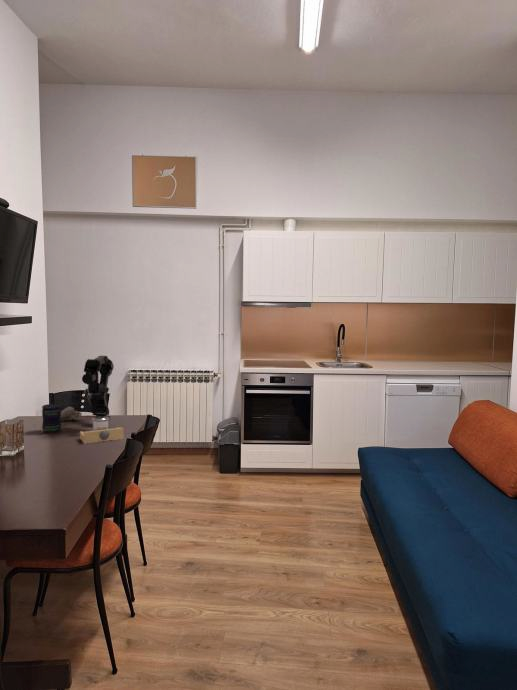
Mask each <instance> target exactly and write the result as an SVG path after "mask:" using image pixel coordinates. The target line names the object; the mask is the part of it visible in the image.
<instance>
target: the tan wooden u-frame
mask: <svg viewBox="0 0 517 690" xmlns="http://www.w3.org/2000/svg"><path fill="white" fill-rule="evenodd" d="M124 431H125V429H124V427H115V428H108V429H106V430H97V431H93V430H90V431H79V440H80V441H81V440H82V441H81V442H82V443H83V444H84V445H87V443H88V444H94V443H101V442H102V443H103V441H104V442H110V441H109V440H112V441H117V440H118V439H119V440H124V437H125V436H124Z"/></svg>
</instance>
